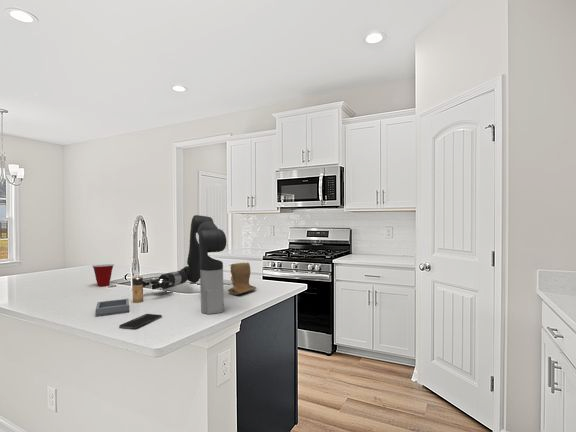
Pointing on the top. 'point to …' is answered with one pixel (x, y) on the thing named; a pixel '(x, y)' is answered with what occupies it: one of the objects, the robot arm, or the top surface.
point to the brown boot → (240, 278)
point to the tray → (112, 307)
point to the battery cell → (137, 289)
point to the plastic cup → (103, 274)
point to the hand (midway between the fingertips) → (145, 286)
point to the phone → (140, 321)
